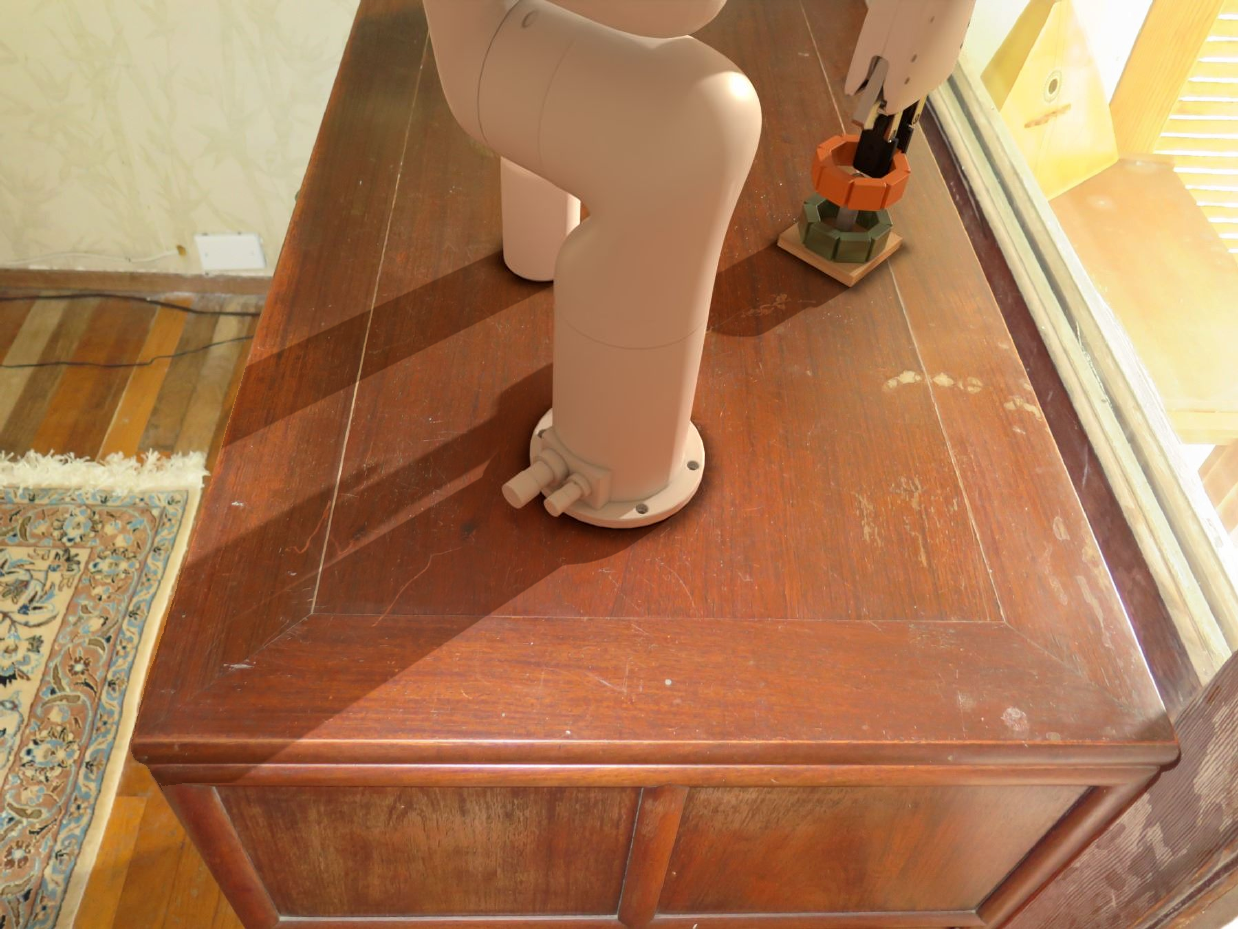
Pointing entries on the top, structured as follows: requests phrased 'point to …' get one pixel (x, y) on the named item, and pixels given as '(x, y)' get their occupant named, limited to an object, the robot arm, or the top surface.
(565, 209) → the can
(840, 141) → the orange ring
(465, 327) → the top surface
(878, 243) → the ring stand
